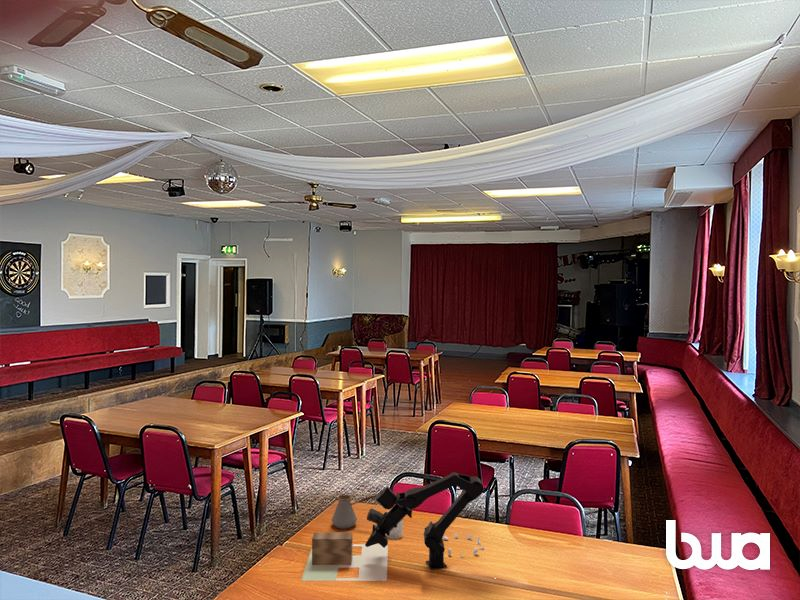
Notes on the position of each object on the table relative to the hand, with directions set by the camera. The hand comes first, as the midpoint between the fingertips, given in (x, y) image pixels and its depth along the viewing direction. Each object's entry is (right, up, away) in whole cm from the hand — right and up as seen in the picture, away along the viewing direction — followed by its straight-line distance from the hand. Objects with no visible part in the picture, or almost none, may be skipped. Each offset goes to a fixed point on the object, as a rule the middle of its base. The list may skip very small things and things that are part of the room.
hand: (365, 545), depth 226 cm
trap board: (-7, -7, 0) cm, 10 cm away
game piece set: (+38, -8, +16) cm, 42 cm away
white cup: (+11, -7, +27) cm, 30 cm away
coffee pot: (-7, -7, +37) cm, 38 cm away
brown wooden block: (-13, -6, 0) cm, 14 cm away
